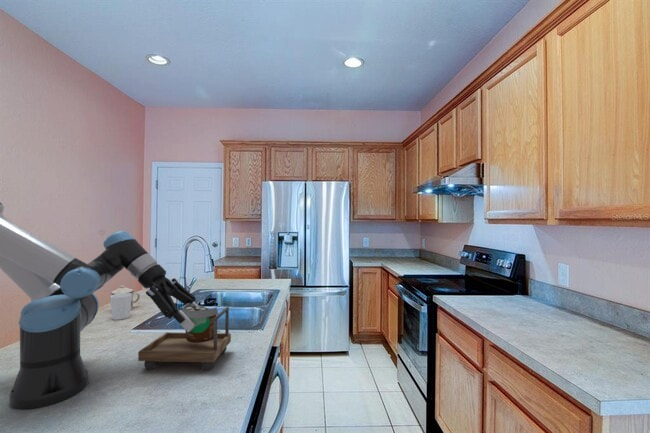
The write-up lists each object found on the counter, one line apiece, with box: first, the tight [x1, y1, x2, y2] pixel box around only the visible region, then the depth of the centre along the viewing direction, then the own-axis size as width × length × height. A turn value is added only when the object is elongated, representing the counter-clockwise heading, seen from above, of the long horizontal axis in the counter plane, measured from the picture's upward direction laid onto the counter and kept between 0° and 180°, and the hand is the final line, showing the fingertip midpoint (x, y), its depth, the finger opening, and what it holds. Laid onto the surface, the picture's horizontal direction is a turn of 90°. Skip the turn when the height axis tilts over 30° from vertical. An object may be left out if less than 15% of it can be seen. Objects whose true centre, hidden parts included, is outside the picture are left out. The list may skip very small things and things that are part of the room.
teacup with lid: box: [110, 285, 140, 311], centre depth 151 cm, size 12×9×12 cm
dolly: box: [137, 306, 232, 372], centre depth 97 cm, size 15×22×15 cm
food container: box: [181, 303, 219, 343], centre depth 96 cm, size 12×6×10 cm, turn 67°
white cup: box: [110, 293, 132, 321], centre depth 139 cm, size 8×8×10 cm
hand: (198, 323), depth 97 cm, fingers closed on food container, 8 cm apart
